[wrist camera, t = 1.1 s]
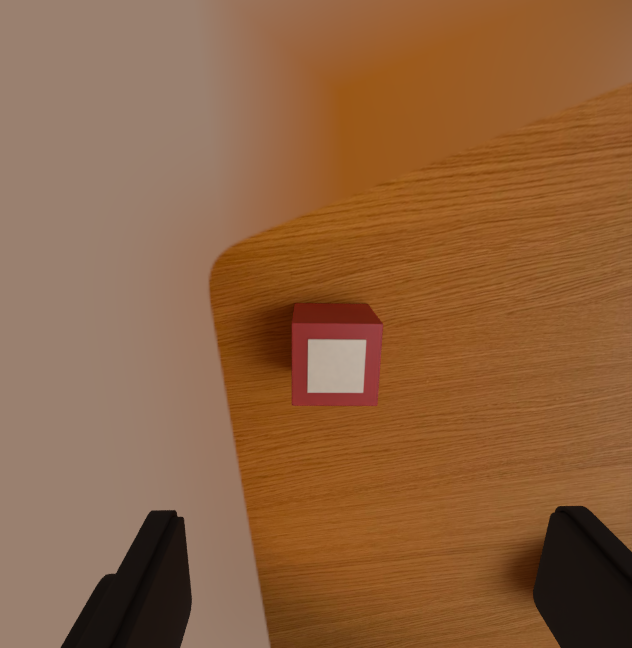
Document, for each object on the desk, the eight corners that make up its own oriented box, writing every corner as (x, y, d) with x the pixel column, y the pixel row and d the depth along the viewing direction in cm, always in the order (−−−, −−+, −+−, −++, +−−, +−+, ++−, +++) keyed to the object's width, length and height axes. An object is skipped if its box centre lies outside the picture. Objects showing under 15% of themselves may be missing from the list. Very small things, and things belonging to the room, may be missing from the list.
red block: (294, 303, 24) (291, 323, 19) (368, 303, 24) (383, 324, 19) (294, 371, 25) (291, 406, 21) (364, 371, 26) (377, 407, 21)
